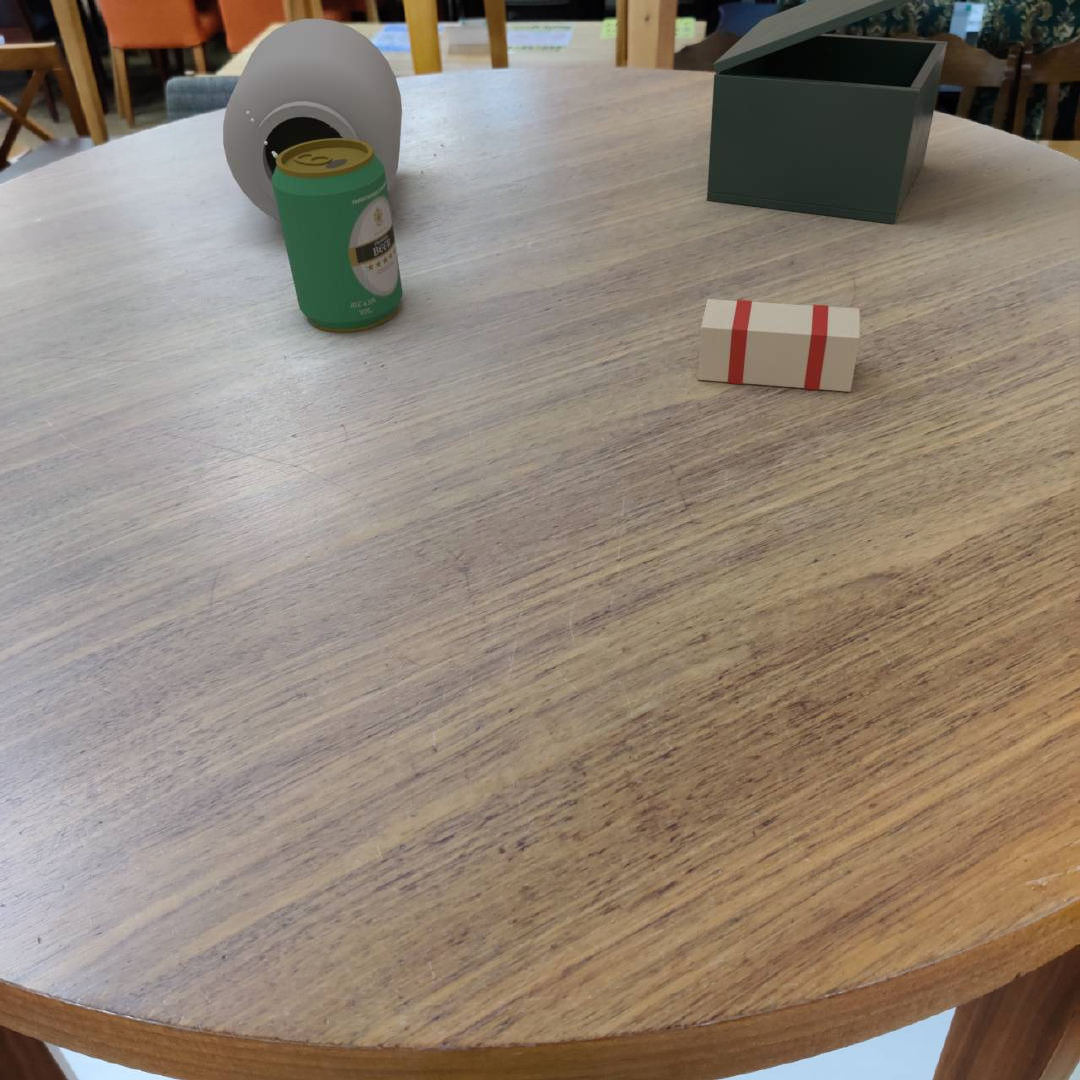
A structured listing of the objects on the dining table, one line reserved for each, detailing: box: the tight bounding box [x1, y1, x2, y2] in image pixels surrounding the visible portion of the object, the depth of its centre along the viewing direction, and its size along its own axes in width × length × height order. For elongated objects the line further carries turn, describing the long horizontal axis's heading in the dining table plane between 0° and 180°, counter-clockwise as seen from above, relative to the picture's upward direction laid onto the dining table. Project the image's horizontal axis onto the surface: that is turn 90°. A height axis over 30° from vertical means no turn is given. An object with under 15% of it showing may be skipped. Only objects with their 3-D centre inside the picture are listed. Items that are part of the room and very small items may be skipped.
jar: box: [222, 17, 445, 223], centre depth 88 cm, size 19×15×25 cm
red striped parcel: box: [697, 298, 861, 393], centre depth 68 cm, size 10×4×4 cm, turn 77°
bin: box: [706, 33, 948, 225], centre depth 91 cm, size 17×15×11 cm
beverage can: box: [272, 138, 404, 333], centre depth 75 cm, size 8×8×12 cm
